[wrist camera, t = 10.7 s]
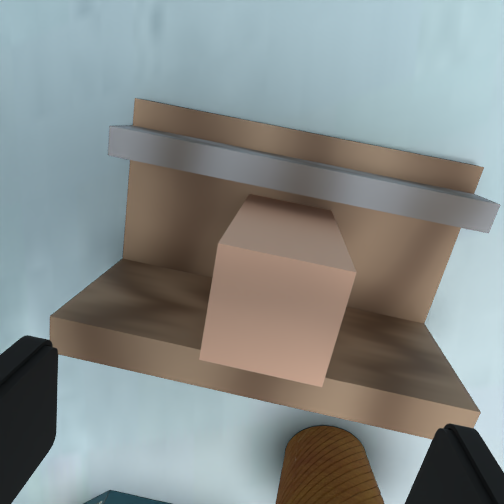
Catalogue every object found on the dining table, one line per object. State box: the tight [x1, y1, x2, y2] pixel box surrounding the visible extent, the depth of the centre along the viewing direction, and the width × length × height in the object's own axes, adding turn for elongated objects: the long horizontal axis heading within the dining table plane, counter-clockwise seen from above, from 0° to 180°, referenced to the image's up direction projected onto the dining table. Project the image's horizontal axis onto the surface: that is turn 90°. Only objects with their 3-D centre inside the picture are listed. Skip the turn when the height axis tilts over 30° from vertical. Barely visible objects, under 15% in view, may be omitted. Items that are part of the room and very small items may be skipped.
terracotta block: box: [199, 194, 357, 387], centre depth 19 cm, size 5×5×10 cm
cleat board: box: [50, 98, 500, 439], centre depth 21 cm, size 20×13×9 cm, turn 79°
